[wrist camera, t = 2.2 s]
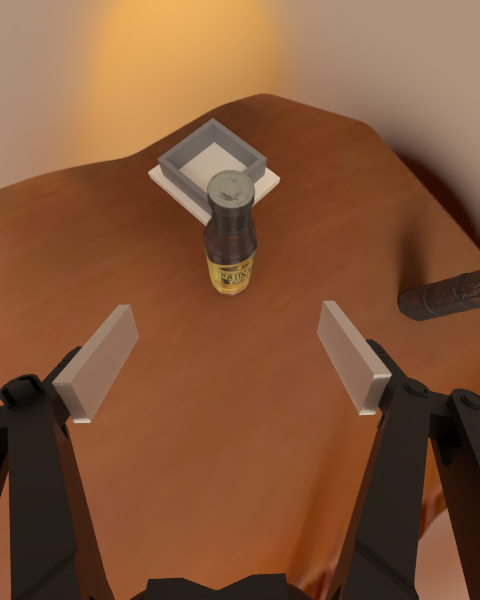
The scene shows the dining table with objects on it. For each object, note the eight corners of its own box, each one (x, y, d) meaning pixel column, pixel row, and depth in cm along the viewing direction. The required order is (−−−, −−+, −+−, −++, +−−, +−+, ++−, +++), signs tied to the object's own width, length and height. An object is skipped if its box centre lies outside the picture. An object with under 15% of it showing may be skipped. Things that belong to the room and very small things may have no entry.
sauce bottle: (224, 305, 37) (212, 238, 18) (204, 274, 38) (172, 182, 19) (258, 283, 38) (281, 199, 19) (237, 254, 39) (238, 148, 20)
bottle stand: (150, 177, 44) (140, 155, 39) (211, 131, 47) (209, 106, 43) (218, 237, 40) (216, 220, 36) (279, 182, 44) (284, 161, 39)
